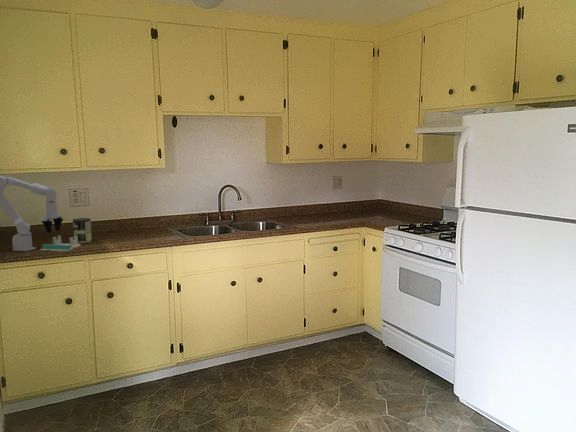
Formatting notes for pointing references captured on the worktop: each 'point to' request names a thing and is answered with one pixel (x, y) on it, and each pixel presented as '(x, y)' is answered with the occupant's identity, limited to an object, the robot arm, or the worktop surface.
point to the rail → (55, 246)
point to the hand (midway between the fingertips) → (53, 231)
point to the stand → (72, 244)
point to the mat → (56, 249)
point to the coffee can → (82, 229)
